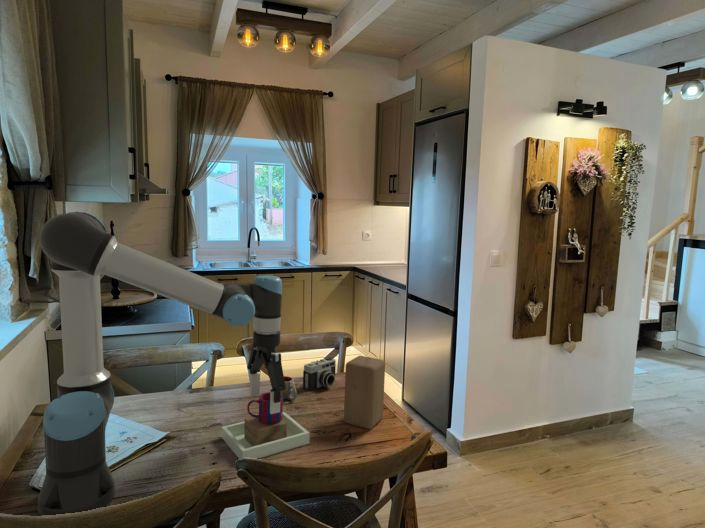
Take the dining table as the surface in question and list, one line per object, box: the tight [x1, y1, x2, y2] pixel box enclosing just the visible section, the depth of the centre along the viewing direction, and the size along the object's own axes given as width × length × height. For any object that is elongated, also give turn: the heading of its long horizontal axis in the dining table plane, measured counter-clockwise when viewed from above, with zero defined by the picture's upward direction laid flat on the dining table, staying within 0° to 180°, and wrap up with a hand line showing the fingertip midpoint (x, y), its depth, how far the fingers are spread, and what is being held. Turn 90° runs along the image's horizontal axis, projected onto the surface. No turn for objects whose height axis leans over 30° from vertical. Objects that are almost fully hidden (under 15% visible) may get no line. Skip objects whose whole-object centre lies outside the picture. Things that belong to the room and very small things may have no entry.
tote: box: [221, 411, 311, 460], centre depth 135 cm, size 20×16×4 cm
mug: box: [281, 375, 298, 402], centre depth 167 cm, size 12×7×7 cm, turn 31°
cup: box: [246, 391, 284, 424], centre depth 135 cm, size 7×10×7 cm
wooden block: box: [343, 355, 386, 430], centre depth 151 cm, size 10×10×20 cm
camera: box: [302, 357, 337, 392], centre depth 179 cm, size 14×9×10 cm, turn 130°
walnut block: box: [244, 415, 287, 447], centre depth 135 cm, size 9×9×6 cm
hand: (264, 403), depth 134 cm, fingers open, 13 cm apart
